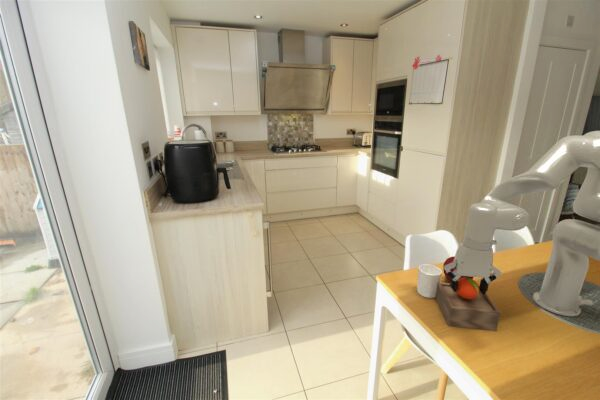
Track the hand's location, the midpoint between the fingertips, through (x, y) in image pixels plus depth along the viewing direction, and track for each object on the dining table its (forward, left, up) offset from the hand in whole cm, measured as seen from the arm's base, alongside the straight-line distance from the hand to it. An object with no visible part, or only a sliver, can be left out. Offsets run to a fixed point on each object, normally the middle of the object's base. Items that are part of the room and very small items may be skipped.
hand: (467, 290), depth 92 cm
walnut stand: (0, 0, -9) cm, 9 cm away
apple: (-4, -18, -9) cm, 21 cm away
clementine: (0, 0, -3) cm, 3 cm away
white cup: (+9, -10, -9) cm, 17 cm away
